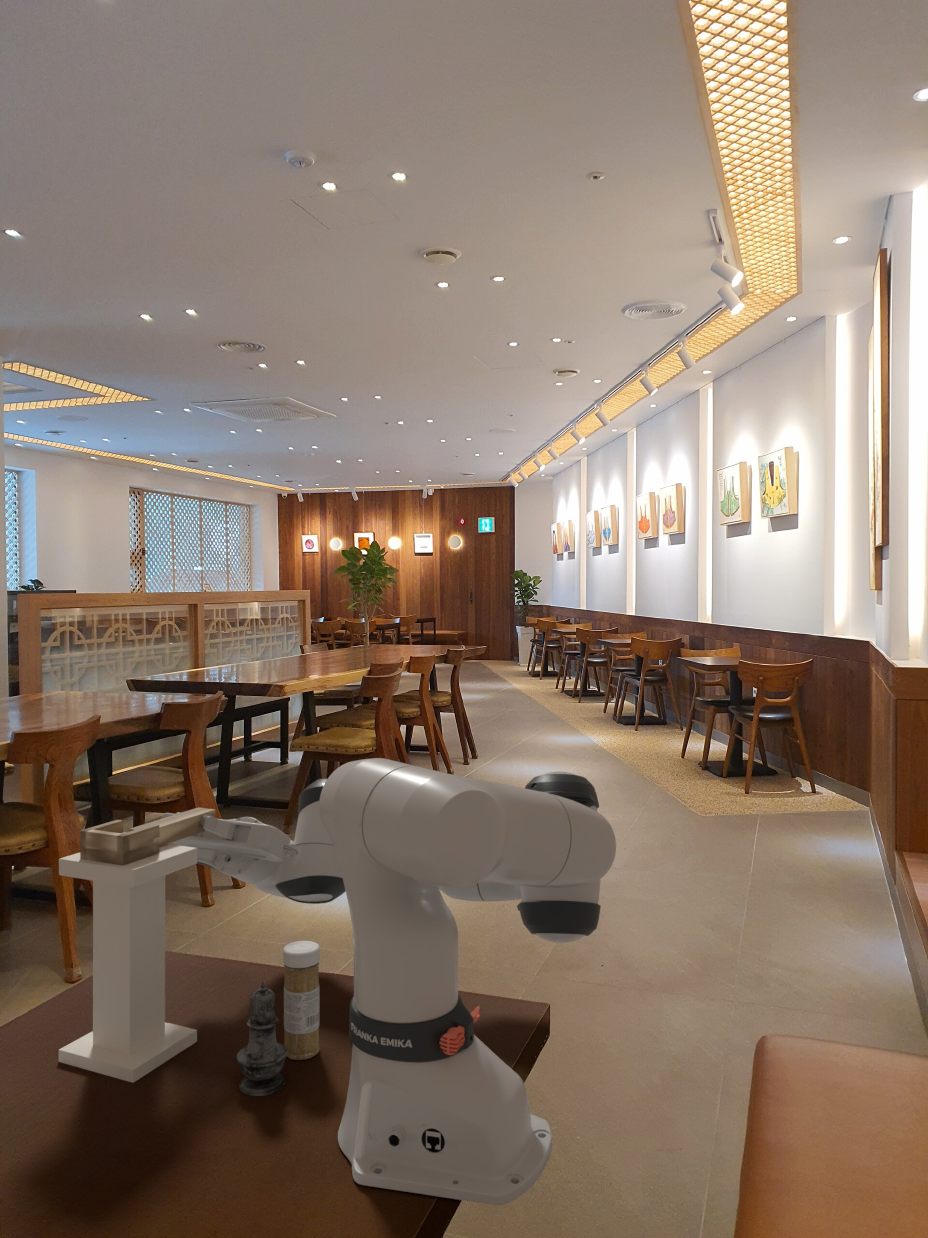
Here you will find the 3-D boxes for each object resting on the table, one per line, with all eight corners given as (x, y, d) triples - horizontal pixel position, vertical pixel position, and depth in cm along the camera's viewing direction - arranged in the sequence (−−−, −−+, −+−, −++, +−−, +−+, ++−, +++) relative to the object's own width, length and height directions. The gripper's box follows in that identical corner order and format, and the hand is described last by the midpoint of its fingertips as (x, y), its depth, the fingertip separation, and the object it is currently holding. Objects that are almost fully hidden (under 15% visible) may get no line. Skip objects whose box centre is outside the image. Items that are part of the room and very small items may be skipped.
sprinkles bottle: (308, 1040, 113) (308, 936, 113) (326, 1054, 110) (326, 947, 110) (276, 1051, 110) (276, 945, 110) (293, 1066, 107) (294, 956, 107)
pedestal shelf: (196, 1041, 113) (197, 847, 113) (133, 1083, 103) (133, 870, 103) (126, 1024, 118) (126, 838, 118) (58, 1062, 108) (58, 858, 108)
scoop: (226, 828, 122) (226, 803, 122) (123, 865, 105) (123, 836, 105) (187, 823, 125) (187, 799, 125) (80, 859, 108) (80, 830, 108)
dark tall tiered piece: (275, 1100, 99) (275, 994, 99) (227, 1094, 100) (227, 989, 100) (295, 1074, 105) (296, 974, 105) (250, 1068, 106) (250, 969, 106)
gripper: (297, 878, 126) (245, 850, 115) (185, 861, 134) (126, 834, 123) (310, 835, 129) (259, 804, 118) (199, 821, 137) (143, 791, 126)
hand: (190, 819), depth 121 cm, fingers closed on scoop, 3 cm apart
